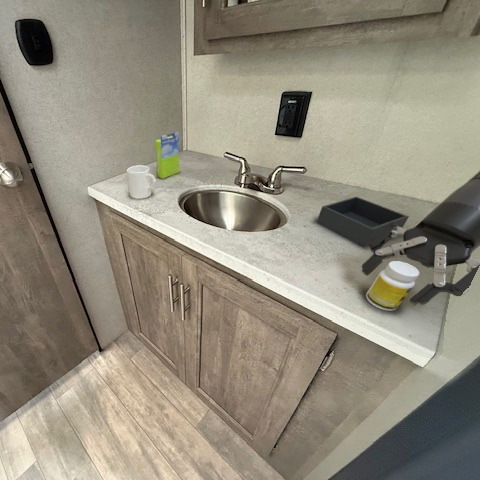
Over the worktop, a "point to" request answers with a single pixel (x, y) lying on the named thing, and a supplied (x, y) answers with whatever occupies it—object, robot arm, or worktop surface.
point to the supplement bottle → (392, 285)
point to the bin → (358, 219)
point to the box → (167, 155)
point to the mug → (140, 181)
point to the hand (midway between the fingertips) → (386, 286)
